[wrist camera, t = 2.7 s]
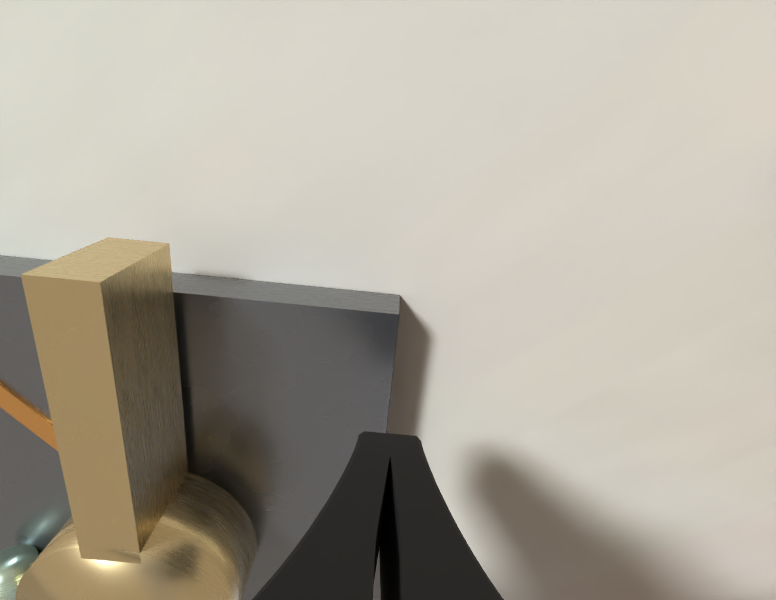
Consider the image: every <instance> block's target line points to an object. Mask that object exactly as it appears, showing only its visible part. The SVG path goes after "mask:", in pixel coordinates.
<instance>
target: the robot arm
mask: <svg viewBox="0 0 776 600" xmlns="http://www.w3.org/2000/svg"><path fill="white" fill-rule="evenodd" d="M378 551H380V587H381V600H504V599H503V598H502V597H501V595H500V594H499V592H498V591H497V590H496V588H495V587H494V585H493V584H492V582H491V581H490V579H489V578H488V576H487V575H486V573H485V572H484V570H483V569H482V567H481V565H480V564H479V562H478V561H477V559H476V557H475V556H474V554H473V552H472V551H471V549H470V547H469V546H468V544H467V542H466V540H465V539H464V537H463V535H462V533H461V532H460V530H459V528H458V526H457V524H456V522H455V521H454V519H453V517H452V515H451V513H450V511H449V509H448V507H447V505H446V503H445V501H444V499H443V497H442V495H441V493H440V490H439V488H438V486H437V484H436V482H435V479H434V477H433V474H432V472H431V470H430V467H429V465H428V462H427V459H426V457H425V454H424V451H423V447H422V444H421V441H420V440H419V438H418V437H417V436H409V435H399V434H388V433H378V432H367V431H364V432H362V433H361V434H359V436H358V440H357V443H356V446H355V449H354V451H353V453H352V456H351V458H350V460H349V462H348V464H347V466H346V468H345V470H344V472H343V474H342V476H341V478H340V479H339V481H338V483H337V485H336V487H335V488H334V490H333V492H332V494H331V495H330V497H329V499H328V500H327V502H326V504H325V505H324V507H323V508H322V510H321V511H320V513H319V514H318V516H317V517H316V519H315V520H314V522H313V523H312V525H311V526H310V528H309V529H308V531H307V532H306V533H305V535H304V536H303V538H302V539H301V540H300V542H299V543H298V544H297V546H296V547H295V548H294V550H293V551H292V552H291V554H290V555H289V556H288V557H287V559H286V560H285V561H284V562H283V564H282V565H281V566H280V567H279V569H278V570H277V571H276V572H275V573H274V575H273V576H272V577H271V578H270V579H269V580H268V582H267V583H266V584H265V585H264V586H263V587H262V589H261V590H260V591H259V592H258V593H257V594H256V596H255V597H254V598H253V599H252V600H373V584H374V577H375V571H376V564H377V558H378Z"/></svg>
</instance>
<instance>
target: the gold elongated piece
mask: <svg viewBox="0 0 776 600" xmlns="http://www.w3.org/2000/svg"><path fill="white" fill-rule="evenodd" d="M21 278H22V283H23V288H24V292H25V297H26V302H27V306H28V311H29V316H30V321H31V325H32V330H33V335H34V339H35V344H36V349H37V353H38V358H39V363H40V368H41V372H42V377H43V382H44V386H45V391H46V396H47V400H48V405H49V410H50V414H51V419H52V424H53V429H54V433H55V438H56V443H57V447H58V452H59V457H60V461H61V466H62V471H63V476H64V480H65V485H66V490H67V494H68V499H69V504H70V508H71V513H72V516H71V517H70V518H69V520H68V521H67V522H66V523H65V524H64V526H63V527H62V528H61V529H60V531H59V532H58V533H57V534H56V535H55V537H54V538H53V539H52V540H51V542H50V543H49V544H48V545H47V546H46V548H45V549H44V550H43V551H42V552H41V554H40V555H39V556H38V557H37V559H36V560H35V561H34V562H33V563H32V565H31V566H30V567H29V568H28V569H27V571H26V572H25V573H24V575H23V576H22V578H21V579H20V582H19V584H18V586H17V590H16V595H15V600H241V599H242V596H243V593H244V590H245V587H246V584H247V581H248V578H249V575H250V572H251V569H252V566H253V563H254V560H255V557H256V553H257V535H256V531H255V528H254V525H253V523H252V521H251V519H250V517H249V515H248V514H247V512H246V511H245V509H244V508H243V507H242V506H241V504H240V503H239V502H238V501H237V500H236V499H235V498H234V497H233V496H232V495H231V494H229V493H228V492H227V491H225V490H224V489H223V488H221V487H220V486H218V485H216V484H215V483H213V482H211V481H209V480H207V479H205V478H203V477H201V476H199V475H196V474H193V473H190V472H188V461H187V449H186V437H185V425H184V413H183V402H182V390H181V378H180V366H179V354H178V342H177V331H176V319H175V307H174V295H173V283H172V271H171V259H170V248H169V243H159V242H149V241H139V240H129V239H119V238H109V237H108V238H106V239H103V240H101V241H98V242H96V243H94V244H91V245H89V246H87V247H84V248H82V249H80V250H77V251H75V252H72V253H70V254H68V255H65V256H63V257H61V258H58V259H56V260H54V261H51V262H49V263H47V264H44V265H42V266H39V267H37V268H35V269H32V270H30V271H28V272H25V273H23V274H21Z"/></svg>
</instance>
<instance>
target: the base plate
mask: <svg viewBox="0 0 776 600" xmlns="http://www.w3.org/2000/svg"><path fill="white" fill-rule="evenodd" d="M49 262H51V260H41V259H31V258H21V257H11V256H1V255H0V600H15V595H16V590H17V586H18V584H19V582H20V579H21V578H22V576H23V575H24V573H25V572H26V571H27V569H28V568H29V567H30V566H31V565H32V563H33V562H34V561H35V560H36V559H37V557H38V556H39V555H40V554H41V552H42V551H43V550H44V549H45V548H46V546H47V545H48V544H49V543H50V542H51V540H52V539H53V538H54V537H55V535H56V534H57V533H58V532H59V531H60V529H61V528H62V527H63V526H64V524H65V523H66V522H67V521H68V520H69V518H70V517H71V516H72V513H71V508H70V504H69V499H68V494H67V490H66V485H65V480H64V476H63V471H62V466H61V461H60V457H59V452H58V447H57V443H56V438H55V433H54V429H53V424H52V419H51V414H50V410H49V405H48V400H47V396H46V391H45V386H44V382H43V377H42V372H41V368H40V363H39V358H38V353H37V349H36V344H35V339H34V335H33V330H32V325H31V321H30V316H29V311H28V306H27V302H26V297H25V292H24V288H23V283H22V278H21V274H23V273H25V272H28V271H30V270H32V269H35V268H37V267H39V266H42V265H44V264H47V263H49ZM172 283H173V295H174V307H175V319H176V331H177V342H178V354H179V366H180V378H181V390H182V402H183V413H184V425H185V437H186V449H187V461H188V472H190V473H193V474H196V475H199V476H201V477H203V478H205V479H207V480H209V481H211V482H213V483H215V484H216V485H218V486H220V487H221V488H223V489H224V490H225V491H227V492H228V493H229V494H231V495H232V496H233V497H234V498H235V499H236V500H237V501H238V502H239V503H240V504H241V506H242V507H243V508H244V509H245V511H246V512H247V514H248V515H249V517H250V519H251V521H252V523H253V525H254V528H255V531H256V535H257V553H256V557H255V560H254V563H253V566H252V569H251V572H250V575H249V578H248V581H247V584H246V587H245V590H244V593H243V596H242V599H241V600H252V599H253V598H254V597H255V596H256V594H257V593H258V592H259V591H260V590H261V589H262V587H263V586H264V585H265V584H266V583H267V582H268V580H269V579H270V578H271V577H272V576H273V575H274V573H275V572H276V571H277V570H278V569H279V567H280V566H281V565H282V564H283V562H284V561H285V560H286V559H287V557H288V556H289V555H290V554H291V552H292V551H293V550H294V548H295V547H296V546H297V544H298V543H299V542H300V540H301V539H302V538H303V536H304V535H305V533H306V532H307V531H308V529H309V528H310V526H311V525H312V523H313V522H314V520H315V519H316V517H317V516H318V514H319V513H320V511H321V510H322V508H323V507H324V505H325V504H326V502H327V500H328V499H329V497H330V495H331V494H332V492H333V490H334V488H335V487H336V485H337V483H338V481H339V479H340V478H341V476H342V474H343V472H344V470H345V468H346V466H347V464H348V462H349V460H350V458H351V456H352V453H353V451H354V449H355V446H356V443H357V440H358V436H359V434H361V433H362V432H364V431H367V432H378V433H386V428H387V419H388V410H389V401H390V392H391V383H392V375H393V366H394V357H395V348H396V339H397V330H398V321H399V304H400V295H394V294H384V293H374V292H364V291H354V290H344V289H334V288H324V287H314V286H303V285H293V284H283V283H273V282H263V281H253V280H243V279H233V278H223V277H213V276H203V275H192V274H182V273H172Z"/></svg>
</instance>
